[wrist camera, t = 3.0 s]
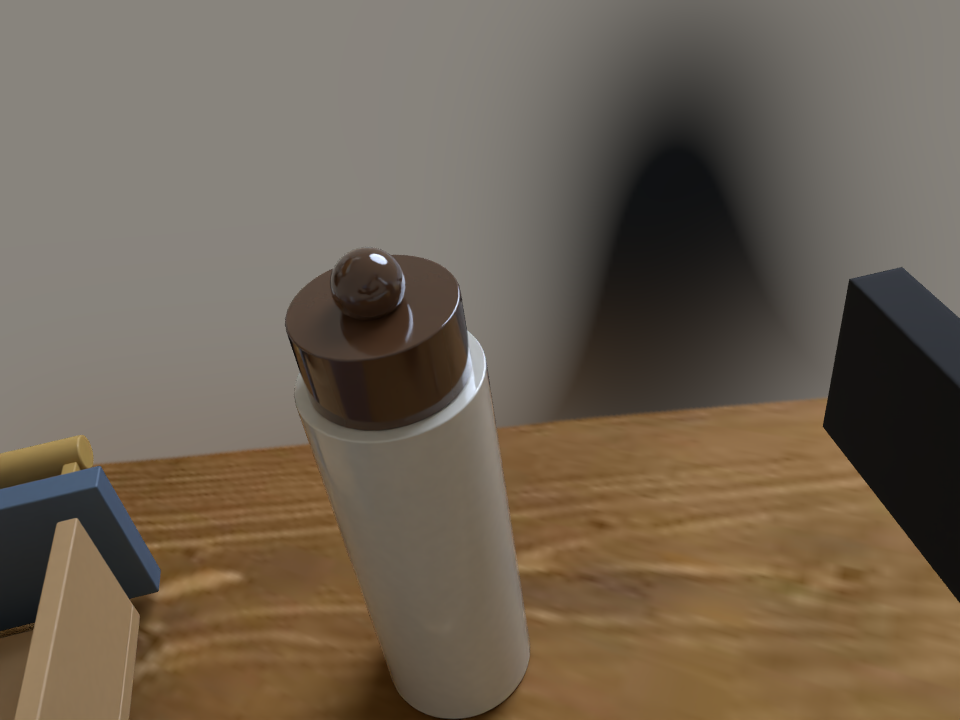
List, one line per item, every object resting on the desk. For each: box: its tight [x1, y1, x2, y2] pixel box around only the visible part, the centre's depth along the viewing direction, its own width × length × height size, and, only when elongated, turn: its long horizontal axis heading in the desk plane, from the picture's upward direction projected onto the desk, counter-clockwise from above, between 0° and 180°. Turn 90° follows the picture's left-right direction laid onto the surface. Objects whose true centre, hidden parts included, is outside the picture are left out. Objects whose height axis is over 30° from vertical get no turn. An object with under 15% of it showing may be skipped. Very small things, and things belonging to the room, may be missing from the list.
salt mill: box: [285, 247, 530, 719], centre depth 29 cm, size 6×6×19 cm
